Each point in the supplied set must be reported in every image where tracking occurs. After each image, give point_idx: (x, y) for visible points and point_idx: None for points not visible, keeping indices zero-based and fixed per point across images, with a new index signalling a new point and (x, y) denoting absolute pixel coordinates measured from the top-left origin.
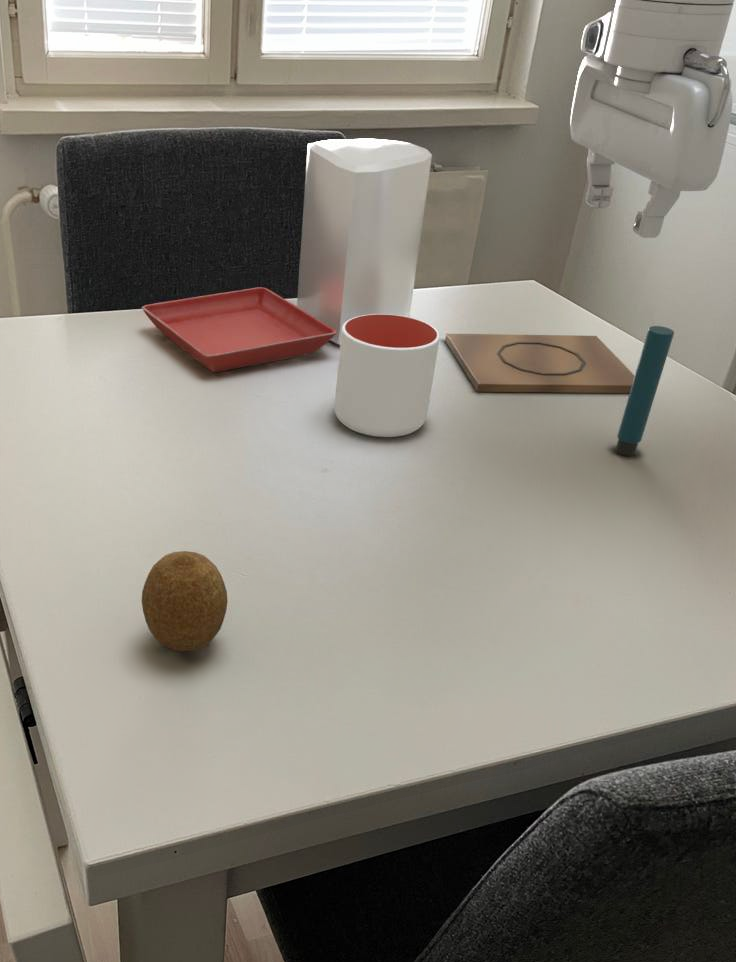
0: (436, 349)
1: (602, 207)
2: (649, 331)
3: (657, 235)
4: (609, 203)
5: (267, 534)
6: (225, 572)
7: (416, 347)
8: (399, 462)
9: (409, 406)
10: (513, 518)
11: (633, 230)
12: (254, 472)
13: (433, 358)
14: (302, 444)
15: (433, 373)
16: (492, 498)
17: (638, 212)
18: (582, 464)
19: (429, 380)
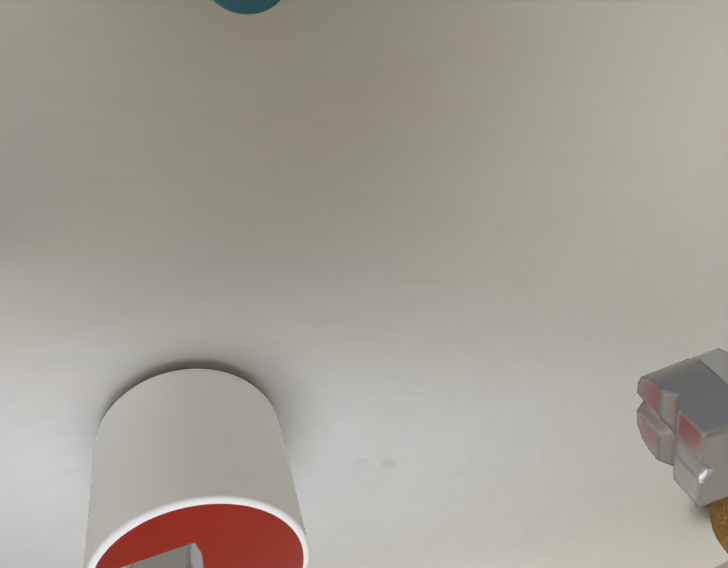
0: (231, 482)
1: (199, 556)
2: (256, 12)
3: (716, 351)
4: (187, 552)
5: (552, 481)
6: (620, 495)
7: (291, 524)
8: (347, 380)
9: (273, 428)
10: (521, 209)
11: (643, 439)
12: (403, 529)
13: (241, 470)
14: (308, 503)
15: (215, 438)
16: (458, 240)
17: (708, 502)
18: (299, 52)
19: (238, 436)
